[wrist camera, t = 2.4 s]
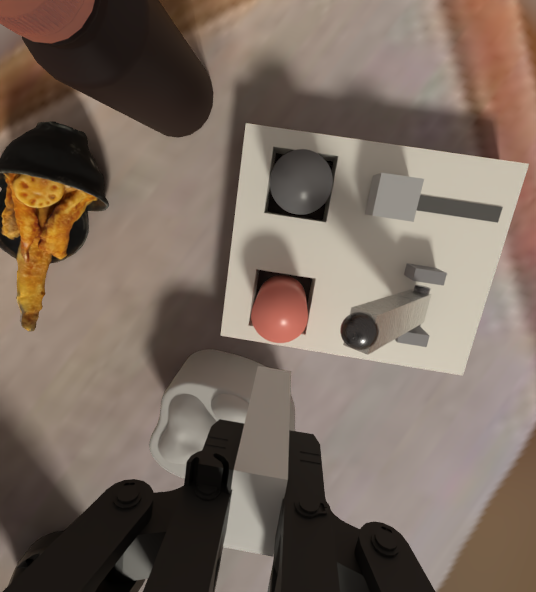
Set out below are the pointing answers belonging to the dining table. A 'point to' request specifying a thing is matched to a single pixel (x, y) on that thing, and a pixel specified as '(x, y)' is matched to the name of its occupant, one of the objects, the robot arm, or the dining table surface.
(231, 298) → the panel
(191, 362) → the lumpy-topped squat cylinder
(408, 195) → the slider knob
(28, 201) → the fried shrimp in bowl
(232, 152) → the dining table surface
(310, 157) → the button black
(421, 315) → the lever
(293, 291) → the button red
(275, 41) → the dining table surface
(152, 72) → the bottle
